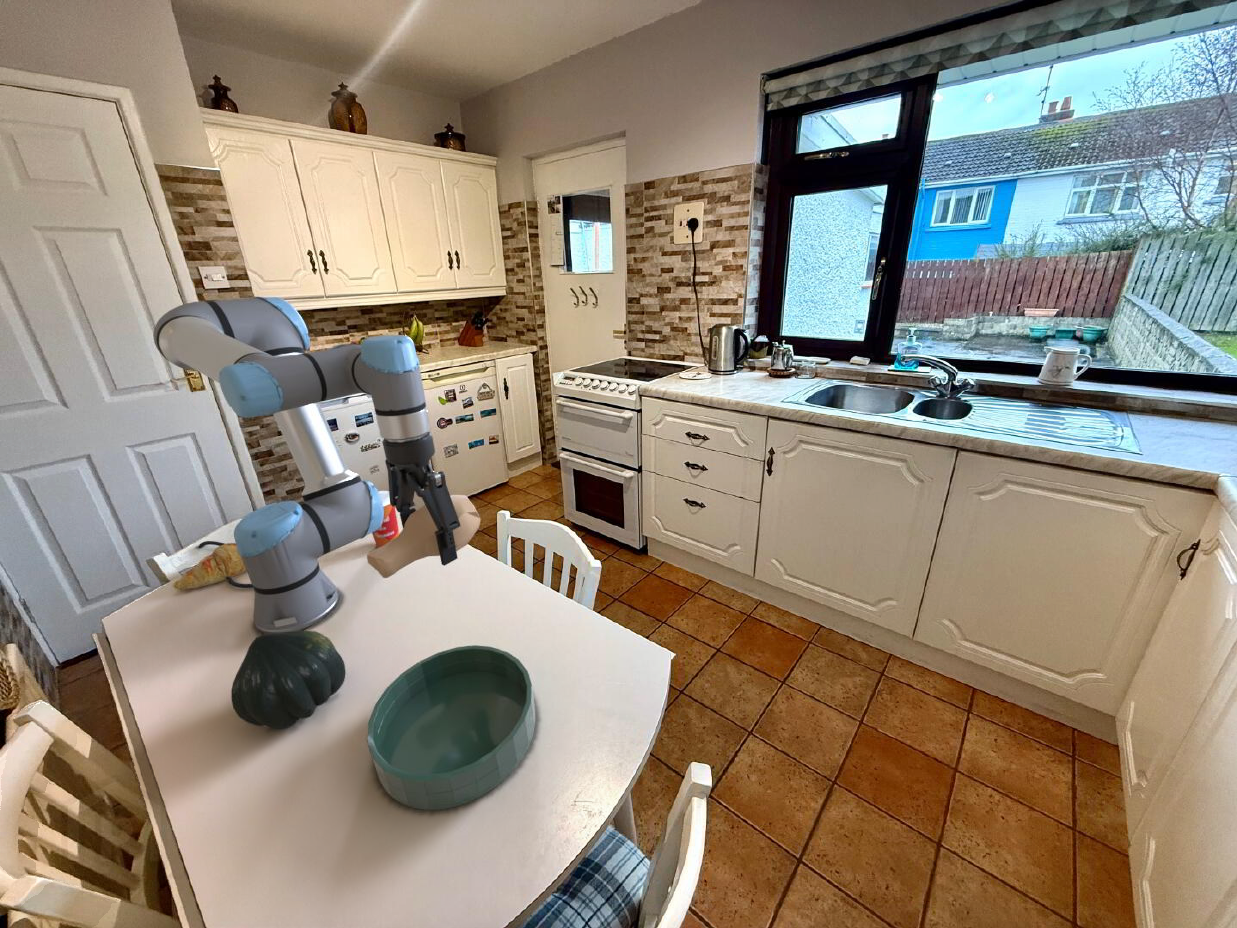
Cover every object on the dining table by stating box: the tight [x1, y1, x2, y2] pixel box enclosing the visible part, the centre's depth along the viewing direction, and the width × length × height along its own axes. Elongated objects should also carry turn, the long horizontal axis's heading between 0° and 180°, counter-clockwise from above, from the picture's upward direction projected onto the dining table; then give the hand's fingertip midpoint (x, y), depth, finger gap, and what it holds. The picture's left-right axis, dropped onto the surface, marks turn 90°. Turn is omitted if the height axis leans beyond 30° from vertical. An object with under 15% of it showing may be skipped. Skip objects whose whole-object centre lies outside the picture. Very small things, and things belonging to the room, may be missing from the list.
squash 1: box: [230, 630, 347, 731], centre depth 79 cm, size 14×15×15 cm
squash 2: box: [366, 494, 482, 579], centre depth 85 cm, size 11×20×9 cm, turn 141°
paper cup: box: [371, 490, 400, 549], centre depth 123 cm, size 8×8×14 cm
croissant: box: [172, 542, 247, 591], centre depth 116 cm, size 21×10×8 cm, turn 148°
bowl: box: [366, 644, 536, 811], centre depth 74 cm, size 24×24×6 cm
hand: (431, 551), depth 87 cm, fingers closed on squash 2, 10 cm apart
